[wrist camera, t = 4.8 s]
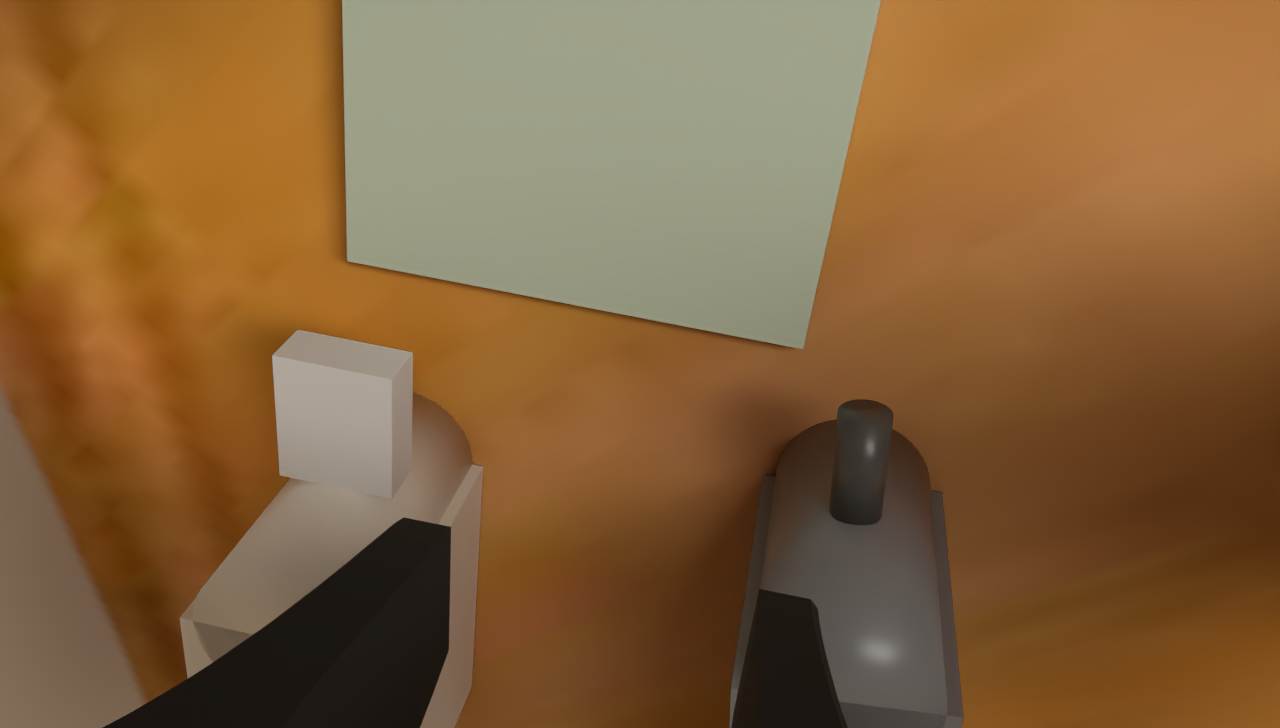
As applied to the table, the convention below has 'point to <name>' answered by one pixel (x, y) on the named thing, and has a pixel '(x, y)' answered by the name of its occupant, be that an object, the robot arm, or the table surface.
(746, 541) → the table surface
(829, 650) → the charcoal plug
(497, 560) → the table surface
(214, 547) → the table surface
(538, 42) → the sage pad
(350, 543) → the white plug
